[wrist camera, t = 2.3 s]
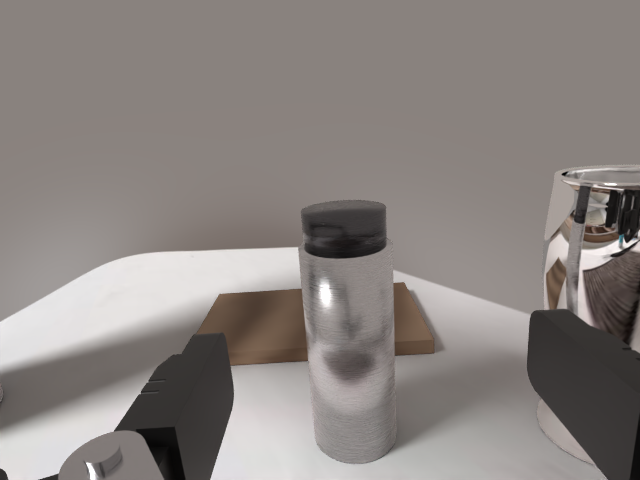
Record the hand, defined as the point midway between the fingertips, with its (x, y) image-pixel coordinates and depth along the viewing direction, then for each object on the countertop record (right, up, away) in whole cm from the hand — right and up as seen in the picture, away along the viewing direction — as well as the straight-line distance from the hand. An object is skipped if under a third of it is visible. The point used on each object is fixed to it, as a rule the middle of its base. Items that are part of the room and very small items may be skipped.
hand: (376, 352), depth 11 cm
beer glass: (+15, -8, +13) cm, 21 cm away
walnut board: (-2, -5, +28) cm, 28 cm away
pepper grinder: (+1, -9, +14) cm, 17 cm away
